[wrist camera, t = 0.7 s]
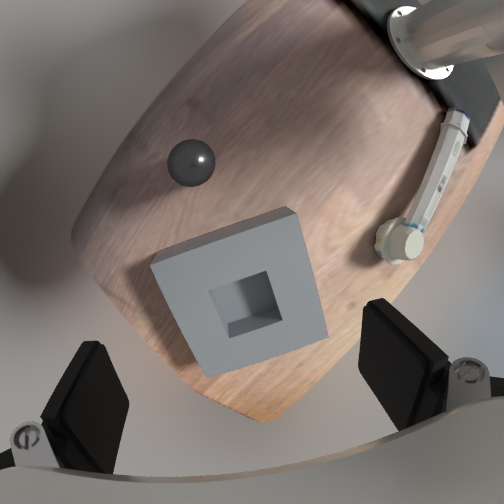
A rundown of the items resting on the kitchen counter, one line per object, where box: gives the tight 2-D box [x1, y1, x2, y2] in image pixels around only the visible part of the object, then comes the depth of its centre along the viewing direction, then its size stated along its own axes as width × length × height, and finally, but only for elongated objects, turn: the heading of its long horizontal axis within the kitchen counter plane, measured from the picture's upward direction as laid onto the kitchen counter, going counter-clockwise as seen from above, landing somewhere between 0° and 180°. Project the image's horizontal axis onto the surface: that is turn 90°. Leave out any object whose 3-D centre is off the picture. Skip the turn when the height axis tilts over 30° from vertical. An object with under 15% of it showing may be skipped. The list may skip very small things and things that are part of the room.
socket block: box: [150, 206, 329, 378], centre depth 35 cm, size 16×16×5 cm
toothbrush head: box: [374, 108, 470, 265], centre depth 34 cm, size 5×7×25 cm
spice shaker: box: [167, 139, 215, 187], centre depth 28 cm, size 4×4×9 cm
